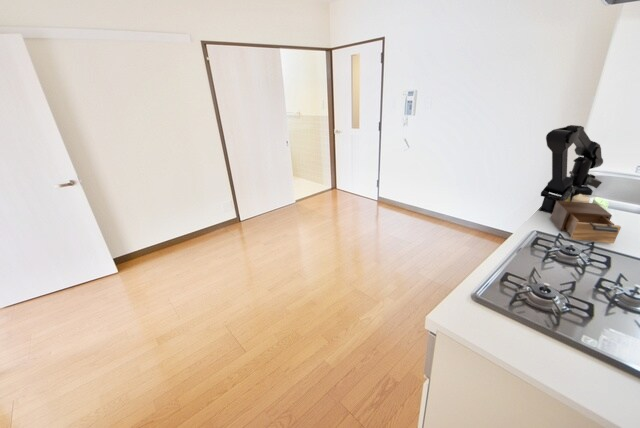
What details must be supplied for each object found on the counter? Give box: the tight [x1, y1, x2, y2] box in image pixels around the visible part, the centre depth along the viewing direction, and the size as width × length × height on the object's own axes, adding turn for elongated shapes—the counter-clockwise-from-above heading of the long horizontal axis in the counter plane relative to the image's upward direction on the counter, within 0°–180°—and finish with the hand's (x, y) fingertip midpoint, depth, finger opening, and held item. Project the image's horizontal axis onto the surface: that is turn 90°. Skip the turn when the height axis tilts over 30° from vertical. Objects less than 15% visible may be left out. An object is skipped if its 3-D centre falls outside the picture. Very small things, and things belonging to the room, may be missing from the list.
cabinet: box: [550, 201, 613, 233], centre depth 113 cm, size 12×14×9 cm
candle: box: [571, 194, 590, 203], centre depth 121 cm, size 6×6×10 cm
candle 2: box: [591, 196, 610, 211], centre depth 120 cm, size 5×5×8 cm
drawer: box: [564, 214, 622, 244], centre depth 103 cm, size 15×12×8 cm
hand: (569, 202), depth 134 cm, fingers open, 6 cm apart
